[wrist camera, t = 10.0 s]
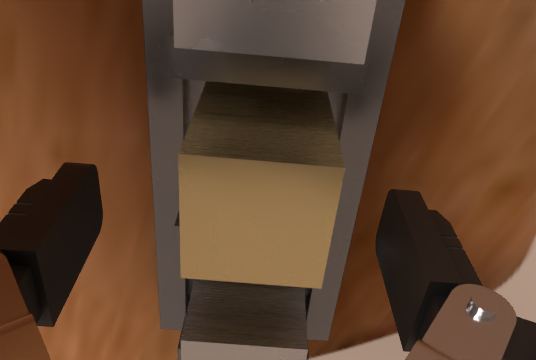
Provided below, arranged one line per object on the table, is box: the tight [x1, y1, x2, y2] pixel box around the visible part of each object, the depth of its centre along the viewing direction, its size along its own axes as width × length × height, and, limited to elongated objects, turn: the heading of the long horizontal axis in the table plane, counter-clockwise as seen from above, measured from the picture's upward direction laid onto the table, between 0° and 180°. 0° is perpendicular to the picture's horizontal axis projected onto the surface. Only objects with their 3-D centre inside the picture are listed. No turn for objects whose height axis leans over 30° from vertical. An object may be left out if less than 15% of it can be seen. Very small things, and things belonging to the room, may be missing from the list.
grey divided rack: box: [142, 0, 405, 360], centre depth 15 cm, size 8×21×7 cm, turn 175°
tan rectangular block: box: [178, 81, 345, 289], centre depth 15 cm, size 4×4×6 cm
